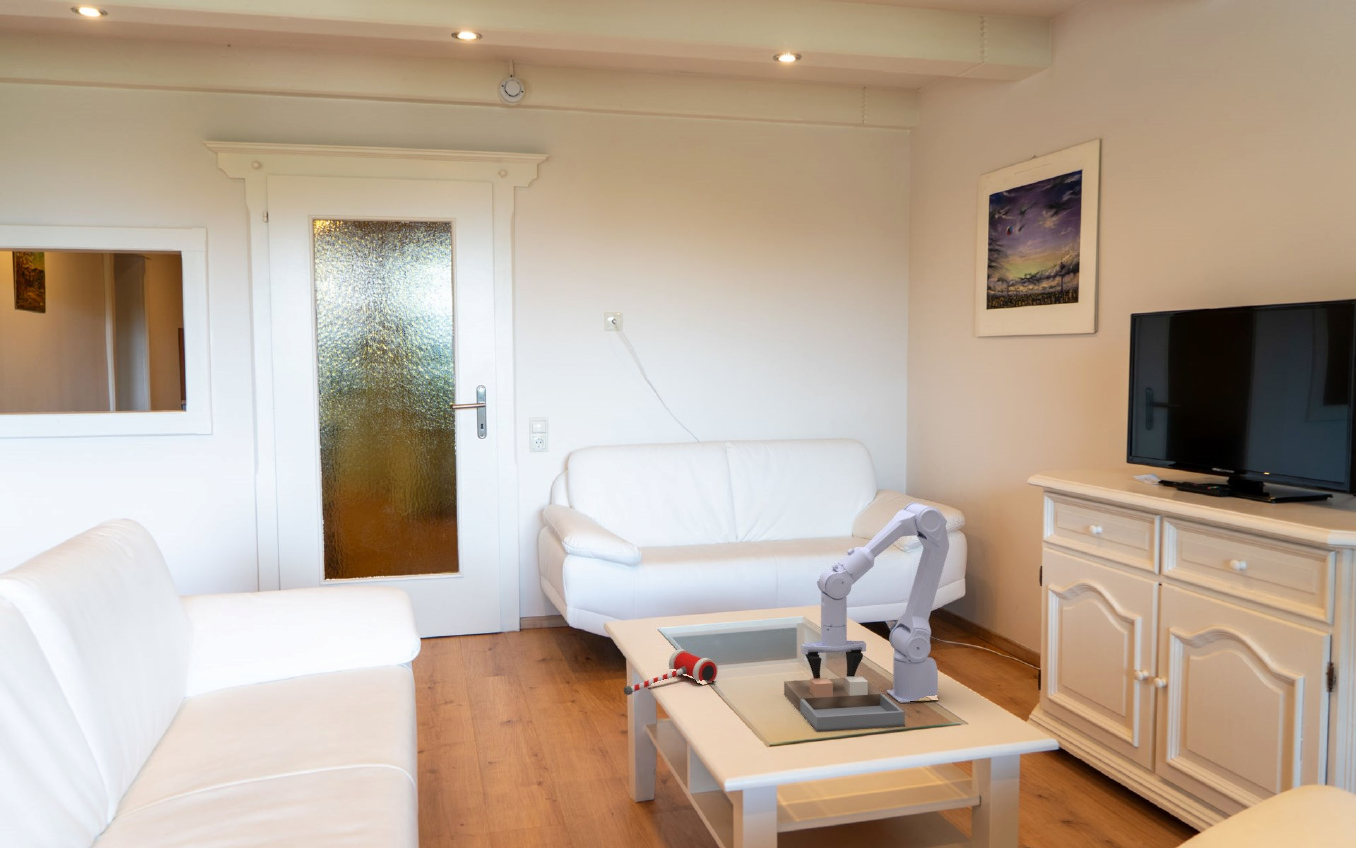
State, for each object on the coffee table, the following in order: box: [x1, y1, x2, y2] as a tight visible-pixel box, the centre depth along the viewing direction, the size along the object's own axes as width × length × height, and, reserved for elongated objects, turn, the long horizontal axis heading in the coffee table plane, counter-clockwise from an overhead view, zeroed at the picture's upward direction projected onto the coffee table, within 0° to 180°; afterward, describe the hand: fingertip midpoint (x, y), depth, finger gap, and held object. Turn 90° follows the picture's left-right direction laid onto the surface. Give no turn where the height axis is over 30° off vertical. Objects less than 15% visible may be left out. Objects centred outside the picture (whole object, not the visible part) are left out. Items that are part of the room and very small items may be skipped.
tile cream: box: [843, 675, 869, 696], centre depth 214 cm, size 4×4×3 cm
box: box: [799, 693, 906, 733], centre depth 205 cm, size 19×12×3 cm, turn 100°
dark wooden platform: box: [783, 676, 884, 713], centre depth 218 cm, size 19×12×3 cm, turn 100°
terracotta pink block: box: [809, 677, 833, 698], centre depth 213 cm, size 4×4×3 cm
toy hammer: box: [623, 648, 719, 696], centre depth 229 cm, size 23×12×6 cm, turn 127°
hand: (833, 684), depth 217 cm, fingers open, 7 cm apart
